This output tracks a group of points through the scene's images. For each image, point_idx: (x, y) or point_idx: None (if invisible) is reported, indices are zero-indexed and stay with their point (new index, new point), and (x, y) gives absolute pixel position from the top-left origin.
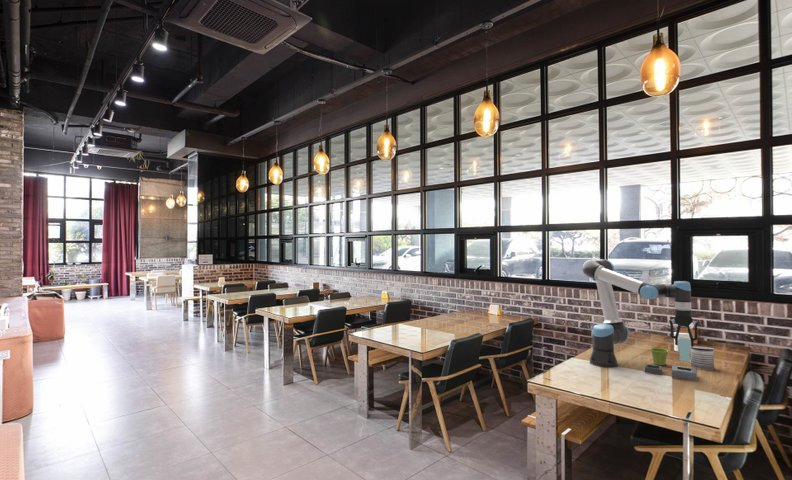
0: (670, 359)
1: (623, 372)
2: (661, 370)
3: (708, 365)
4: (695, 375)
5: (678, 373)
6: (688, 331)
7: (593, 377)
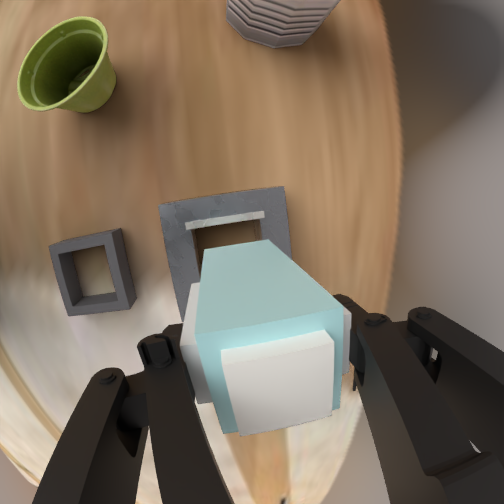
0: None
1: (40, 355)
2: (121, 248)
3: (309, 34)
4: None
5: None
6: (390, 472)
7: (43, 438)
